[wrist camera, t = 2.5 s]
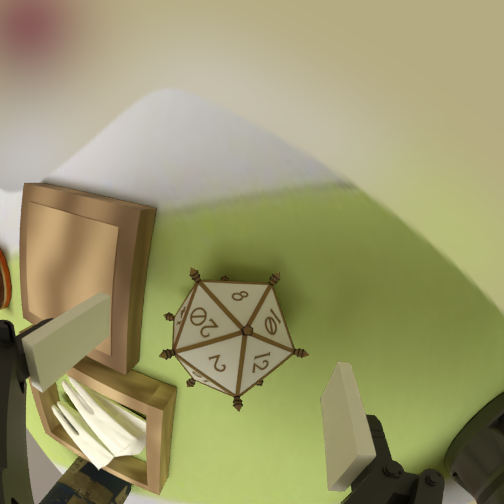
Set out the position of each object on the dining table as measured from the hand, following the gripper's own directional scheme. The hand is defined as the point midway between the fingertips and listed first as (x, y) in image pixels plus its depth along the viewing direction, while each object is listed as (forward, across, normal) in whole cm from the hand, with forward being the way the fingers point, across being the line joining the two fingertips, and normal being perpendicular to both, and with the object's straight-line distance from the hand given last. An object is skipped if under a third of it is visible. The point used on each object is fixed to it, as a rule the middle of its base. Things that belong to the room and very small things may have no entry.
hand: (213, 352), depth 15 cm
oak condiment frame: (+7, +12, +19) cm, 23 cm away
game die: (+7, 0, 0) cm, 7 cm away
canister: (+7, +14, +34) cm, 38 cm away
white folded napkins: (+7, +12, +19) cm, 24 cm away
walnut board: (+7, +14, +1) cm, 16 cm away
